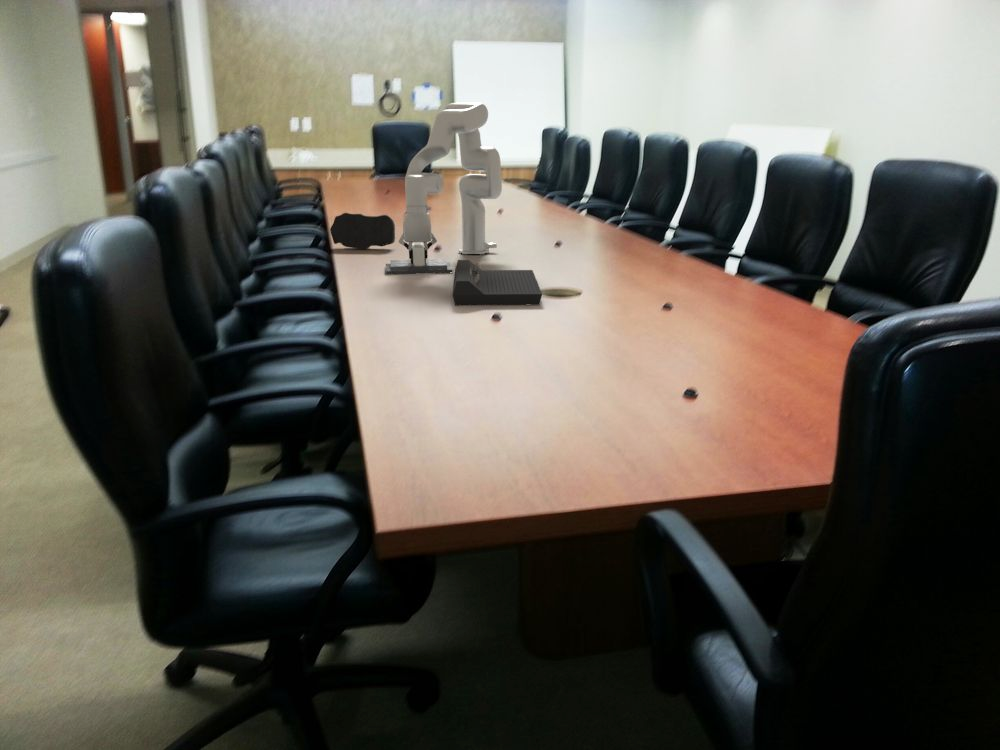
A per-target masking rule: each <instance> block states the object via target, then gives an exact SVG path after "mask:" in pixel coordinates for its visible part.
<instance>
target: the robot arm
mask: <svg viewBox="0 0 1000 750" xmlns="http://www.w3.org/2000/svg"><path fill="white" fill-rule="evenodd" d="M488 119H489V110H488V107H487V106H486V105H485V104H484V103H482V102H451V103H448V104H447V105H446V106H445V107H444V109H442V110H440V111H439V112H438V113H437V114H436V116H435V119H434V122H433V125H432V128H431V131H430V135H429V138H428V141H427V144H426V145H425V146H424V147H423V148H421V150H420V151H418V152H417V154H416V155H414V157H412V159H411V160H410V162H409V163H408V167H407V171H406V174H405V178H404V186H405V187H404V188H405V210H406V211H405V213H404V215H403V225H402V226H403V228H402V229H403V230H402V231H403V233H402V235H401V236H400V238H399V240H398V244H400V245H402V246H404V247H405V248H406V249H407V250H408V254H409V255H408V259H411V262H413V250H412V243H423V246H424V255H425V261H426V259H429V258H428V257H429V256H428V251H429V249H430V248H431V247H432V246H433V245H435V244H436V243H437V241H438V240H437V238H436V237H435V236H434V234H433V232H432V223H431V215H430V213H428V212H429V211H432V207H431V206H429V205H428V197H427V195H437V194H439V193H441V192H442V191H443V189H444V186H445V185H444V184H445V183H444V179H443V177H442V175H440V174H439V173H435V172H423V171H424V169H425V168H426V167H427V166H428V165H430V164H432V163H433V162H436V161H438V160H441V159H443V158H446V157H447V156H448V155H449V153H450V150H451V147H452V144H453V141H454V137H455V135H456V134H457V136H458V143H459V144H458V145H459V154H460V163H461V168H462V169H463V170H465V171H470V172H484V173H485V174H482V173H481V174H480V173H467V174H464V175H463V176H461V178H460V180H459V182H458V189H459V194H460V200H461V228H462V230H461V238H462V239H461V240H462V246H461V247H462V248H459V249H458V253H459V254H461V253H462V255H467V254H480V255H486V254H485V253H487V254H489V253H490V249H497V247H498V246H497V245H498V243H496V242H494V243H493V242H490V243H489V242H487V241H486V209H485V205H484V203H483V201H482V200H483V199H484V200H496V199H498V198H499V197H501V194H502V188H503V184H502V183H503V182H502V166H501V165H502V164H501V156H500V153H499V151H498V150H497V148H495V147H493V146H482V141H481V140H482V139H481V132H480V130H479V129H480V128H482V127H483V126H485V124H487V121H488ZM481 199H482V200H481ZM488 252H489V253H488Z"/></svg>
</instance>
